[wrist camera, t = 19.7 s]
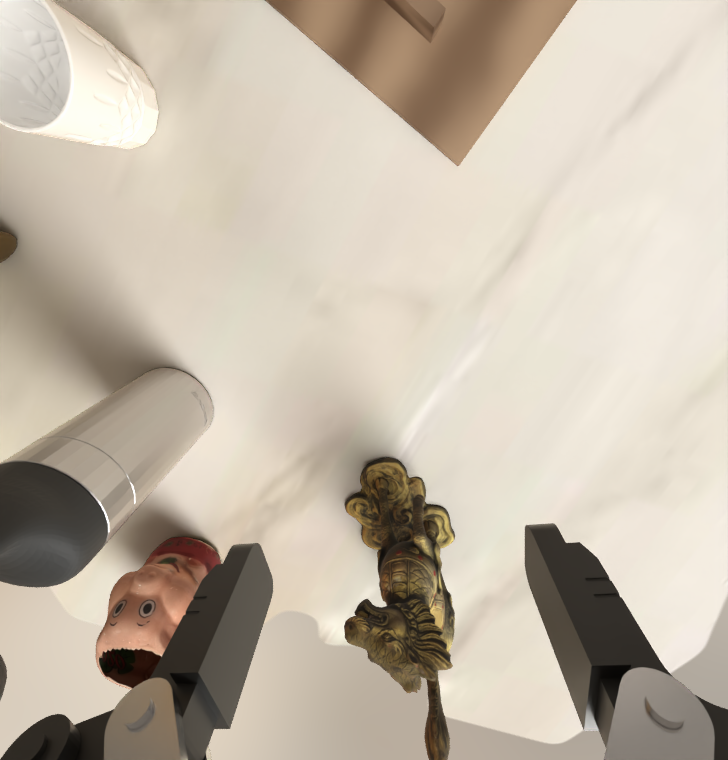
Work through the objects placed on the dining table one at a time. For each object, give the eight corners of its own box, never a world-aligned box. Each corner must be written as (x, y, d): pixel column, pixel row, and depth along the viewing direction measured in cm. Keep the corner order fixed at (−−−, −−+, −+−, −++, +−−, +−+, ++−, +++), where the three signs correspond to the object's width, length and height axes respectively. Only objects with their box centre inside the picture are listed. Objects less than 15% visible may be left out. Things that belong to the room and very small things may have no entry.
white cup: (61, 114, 32) (-73, 71, 23) (93, 17, 29) (-46, -77, 20) (144, 177, 33) (49, 160, 24) (182, 91, 30) (91, 35, 21)
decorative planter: (248, 614, 57) (207, 729, 44) (173, 612, 58) (111, 723, 45) (221, 515, 49) (162, 618, 36) (135, 514, 50) (47, 614, 37)
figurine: (438, 448, 42) (474, 624, 24) (466, 595, 52) (507, 804, 33) (332, 465, 44) (289, 640, 26) (377, 603, 54) (369, 805, 35)
